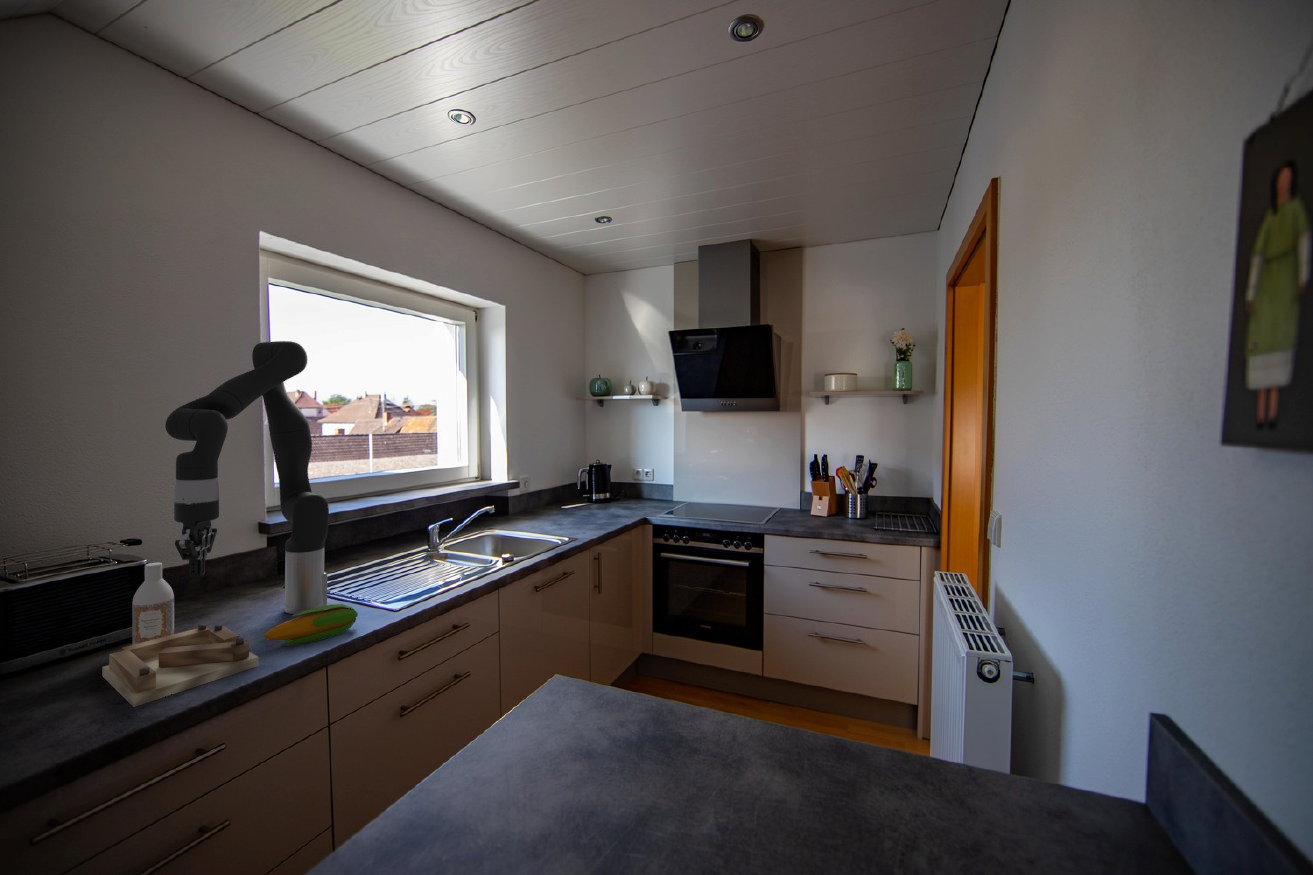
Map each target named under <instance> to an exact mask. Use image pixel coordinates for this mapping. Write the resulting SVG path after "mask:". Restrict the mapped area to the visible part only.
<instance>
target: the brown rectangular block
mask: <svg viewBox="0 0 1313 875" xmlns="http://www.w3.org/2000/svg"><path fill="white" fill-rule="evenodd" d="M249 652H250V641H249V640H245V637H244V636H239V638H237V639H236V642H228V643H216V644H204V645H192V646H180V647H169V648H165V649H164V650H163V651H161V652H160V653H159V668H160V667H170V666H181V665H192V664H202V663H213V662H224V661H238V660H243V659H245V658H247V657H249Z"/></svg>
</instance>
